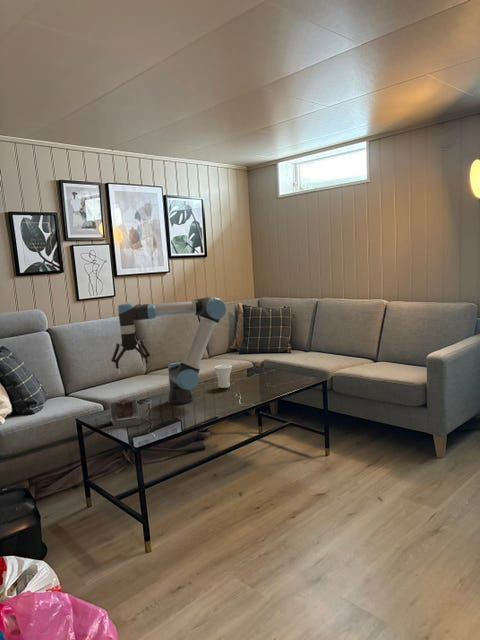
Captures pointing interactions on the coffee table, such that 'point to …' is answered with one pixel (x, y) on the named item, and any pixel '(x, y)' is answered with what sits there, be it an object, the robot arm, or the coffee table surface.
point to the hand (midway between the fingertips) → (132, 372)
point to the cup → (223, 375)
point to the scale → (124, 422)
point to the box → (124, 408)
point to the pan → (126, 417)
